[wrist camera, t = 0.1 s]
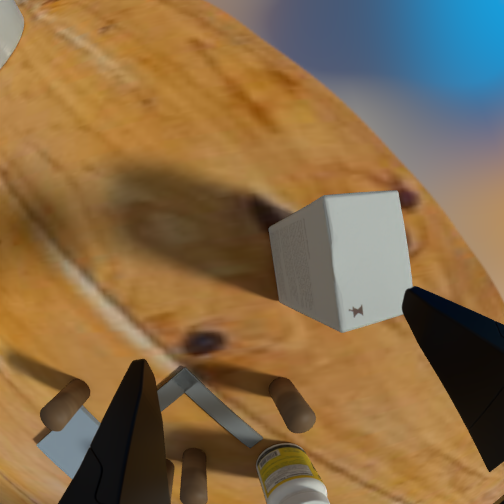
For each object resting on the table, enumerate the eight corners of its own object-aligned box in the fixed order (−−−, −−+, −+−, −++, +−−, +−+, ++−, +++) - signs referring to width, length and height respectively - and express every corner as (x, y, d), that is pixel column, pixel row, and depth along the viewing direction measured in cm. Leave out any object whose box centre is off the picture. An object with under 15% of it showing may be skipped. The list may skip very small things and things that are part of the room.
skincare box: (328, 293, 26) (417, 315, 14) (278, 303, 25) (338, 337, 13) (318, 218, 26) (401, 187, 14) (266, 225, 25) (319, 194, 13)
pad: (147, 464, 23) (147, 468, 22) (99, 496, 22) (97, 499, 21) (81, 404, 22) (79, 407, 22) (38, 442, 21) (36, 445, 21)
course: (308, 398, 25) (333, 430, 19) (184, 491, 23) (182, 533, 17) (188, 272, 24) (182, 276, 18) (65, 387, 22) (35, 415, 16)
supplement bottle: (302, 478, 25) (330, 533, 17) (253, 480, 24) (269, 541, 16) (309, 439, 25) (344, 493, 17) (257, 441, 24) (277, 501, 16)
